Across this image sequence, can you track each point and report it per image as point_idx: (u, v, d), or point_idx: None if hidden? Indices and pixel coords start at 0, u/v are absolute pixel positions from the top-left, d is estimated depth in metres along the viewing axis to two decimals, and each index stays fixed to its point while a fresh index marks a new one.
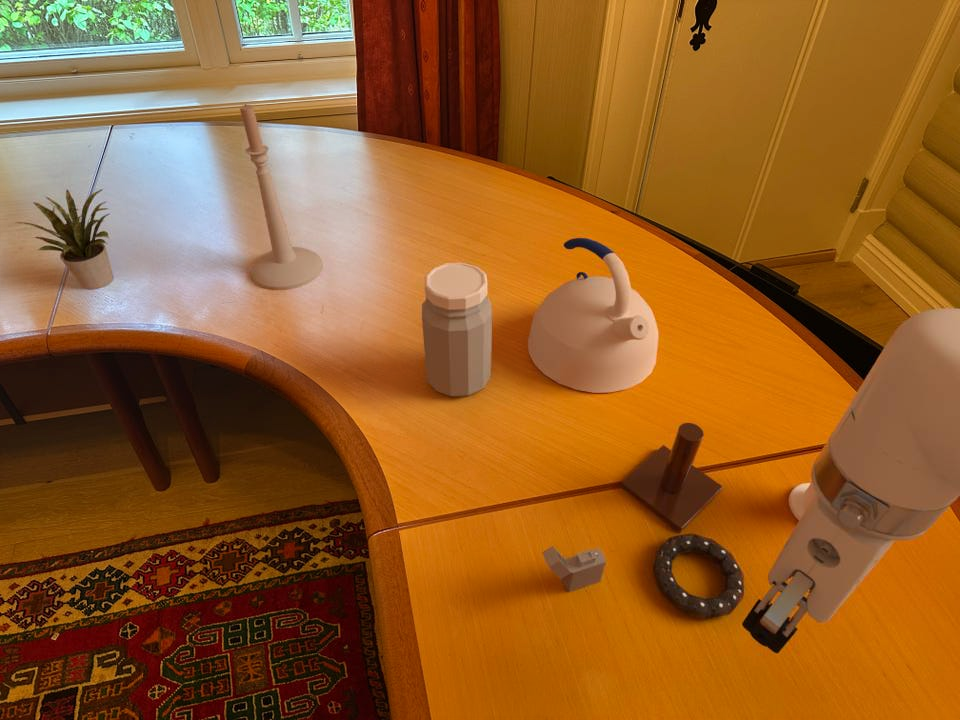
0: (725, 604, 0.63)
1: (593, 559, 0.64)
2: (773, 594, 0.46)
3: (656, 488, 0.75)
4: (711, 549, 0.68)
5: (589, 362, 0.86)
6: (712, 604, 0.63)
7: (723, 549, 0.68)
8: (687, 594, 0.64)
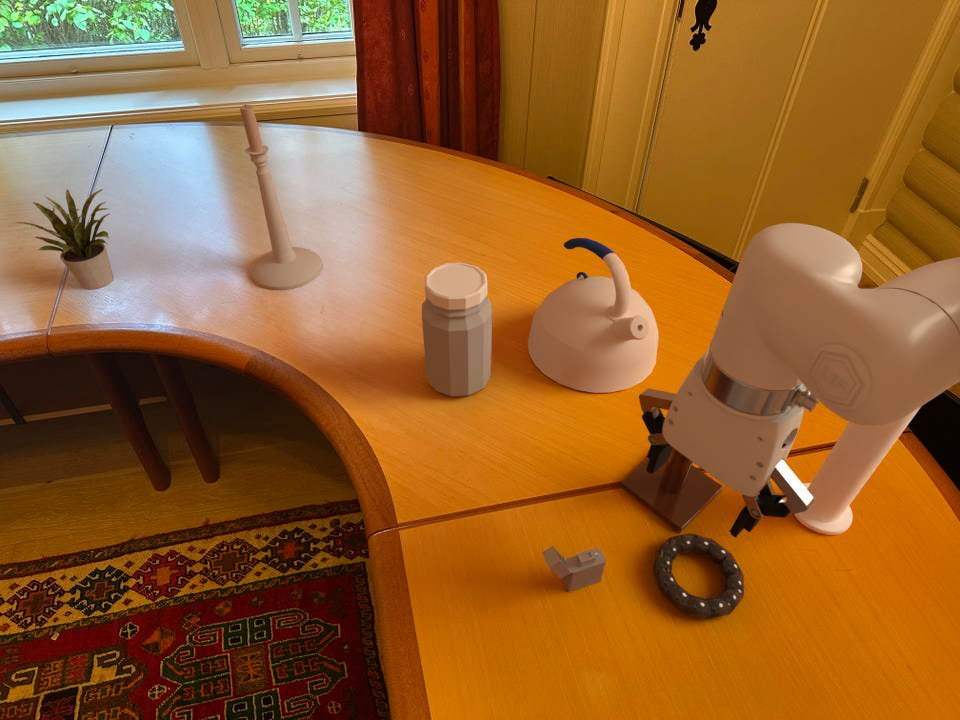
0: (725, 604, 0.63)
1: (593, 559, 0.64)
2: (757, 497, 0.53)
3: (656, 488, 0.75)
4: (711, 549, 0.68)
5: (589, 362, 0.86)
6: (712, 604, 0.63)
7: (723, 549, 0.68)
8: (687, 594, 0.64)
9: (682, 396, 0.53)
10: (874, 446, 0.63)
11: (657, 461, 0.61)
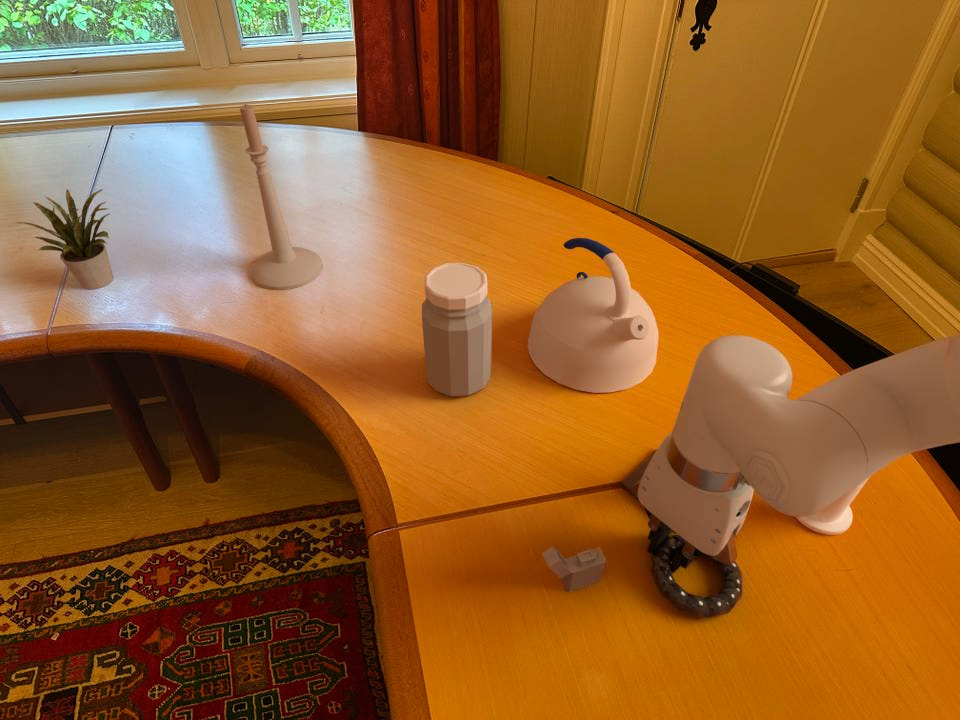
0: (723, 603, 0.63)
1: (593, 559, 0.64)
2: (696, 547, 0.63)
3: None
4: None
5: (589, 362, 0.86)
6: (710, 603, 0.63)
7: None
8: (685, 593, 0.64)
9: (652, 468, 0.61)
10: None
11: (656, 544, 0.68)
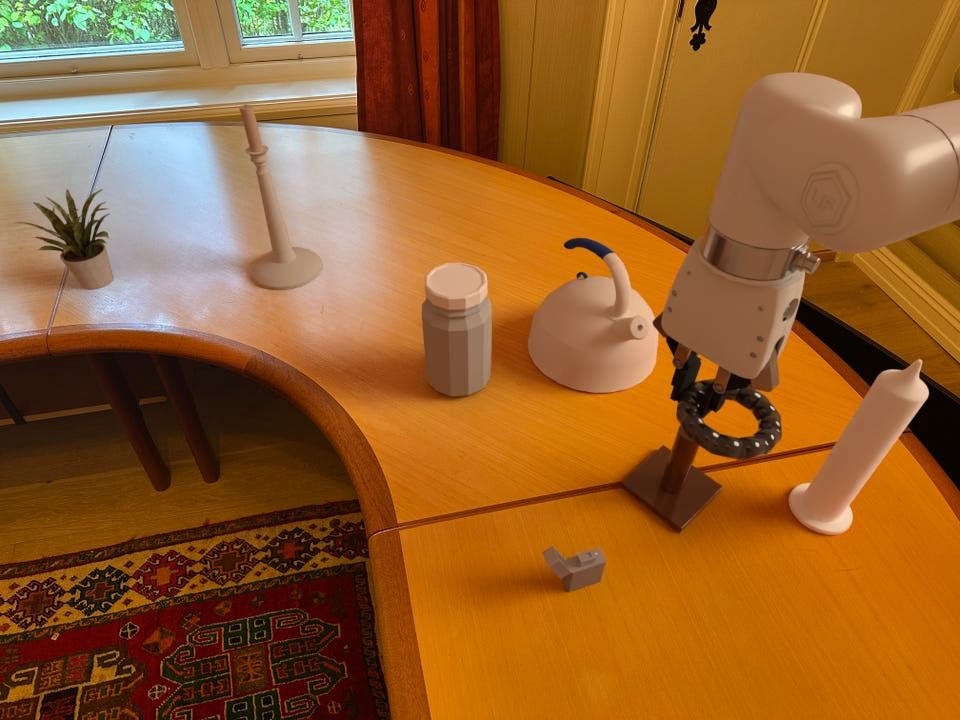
0: (762, 442, 0.55)
1: (593, 559, 0.64)
2: (731, 377, 0.55)
3: (656, 488, 0.75)
4: (742, 392, 0.60)
5: (589, 362, 0.86)
6: (747, 441, 0.55)
7: (756, 391, 0.60)
8: (717, 433, 0.56)
9: (681, 277, 0.52)
10: (874, 446, 0.63)
11: (682, 386, 0.59)
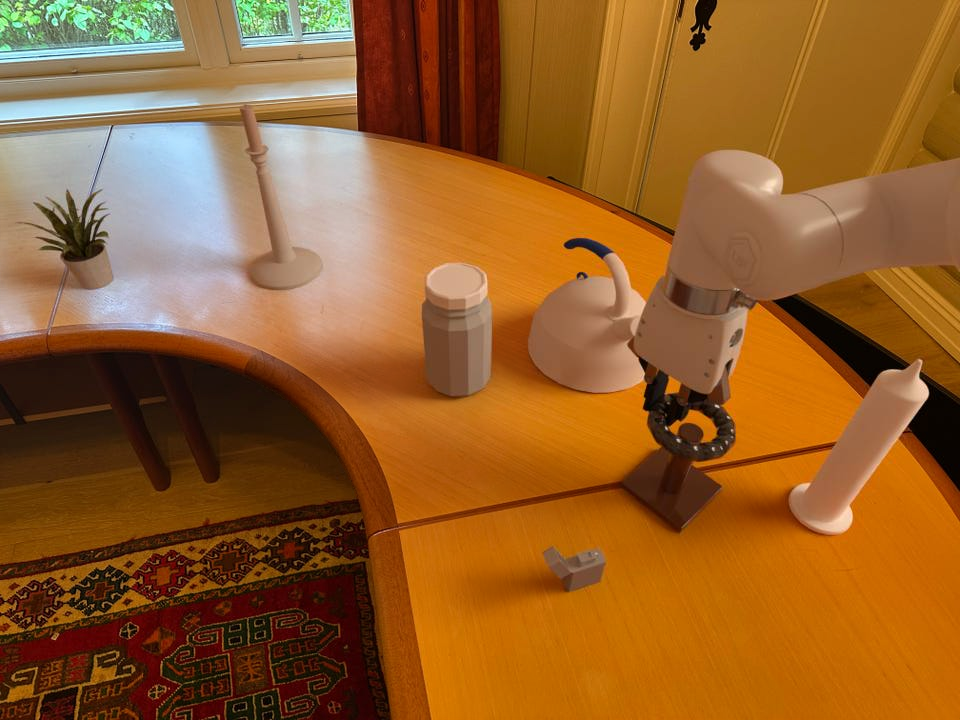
0: (717, 446, 0.65)
1: (593, 559, 0.64)
2: (691, 392, 0.65)
3: (656, 488, 0.75)
4: (704, 403, 0.70)
5: (589, 362, 0.86)
6: (705, 446, 0.65)
7: None
8: (680, 439, 0.66)
9: (648, 309, 0.62)
10: (874, 446, 0.63)
11: (652, 399, 0.69)
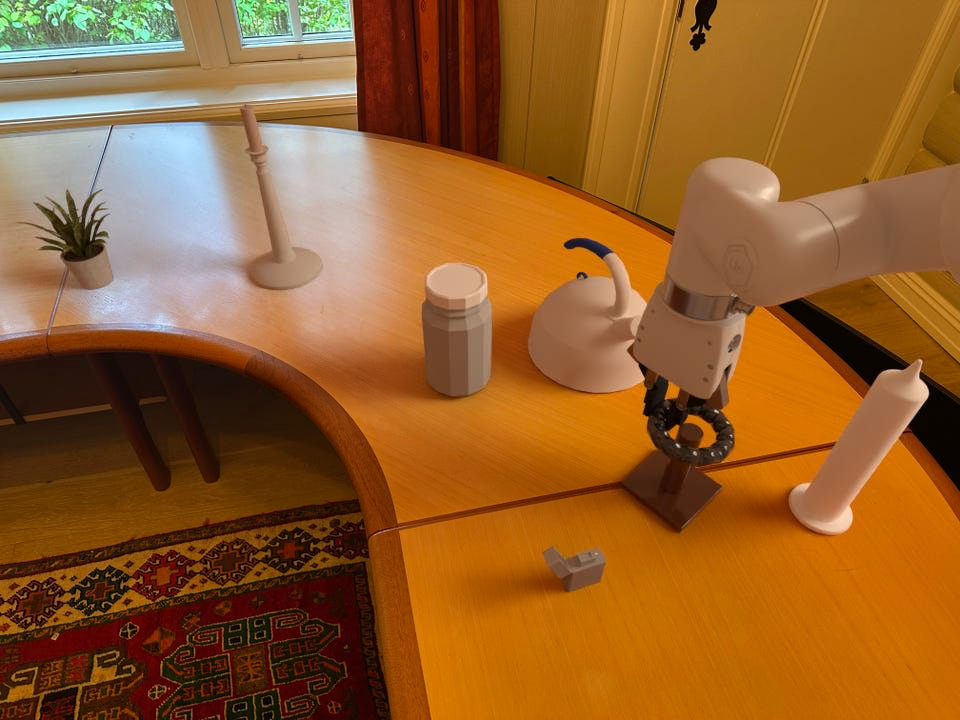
0: (716, 452, 0.65)
1: (593, 559, 0.64)
2: (690, 397, 0.65)
3: (656, 488, 0.75)
4: (703, 408, 0.70)
5: (589, 362, 0.86)
6: (704, 451, 0.65)
7: None
8: (680, 444, 0.66)
9: (647, 314, 0.63)
10: (874, 446, 0.63)
11: (652, 404, 0.70)
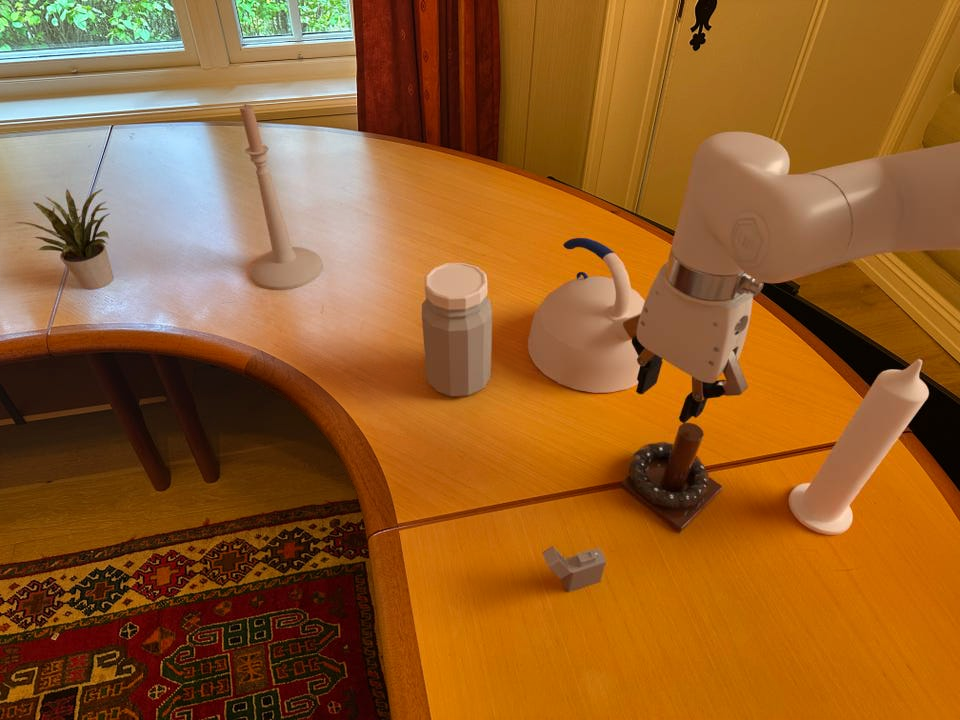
0: (691, 495, 0.72)
1: (593, 559, 0.64)
2: (704, 384, 0.63)
3: None
4: None
5: (589, 362, 0.86)
6: (680, 495, 0.72)
7: None
8: (658, 488, 0.73)
9: (651, 297, 0.61)
10: (874, 446, 0.63)
11: (645, 381, 0.69)
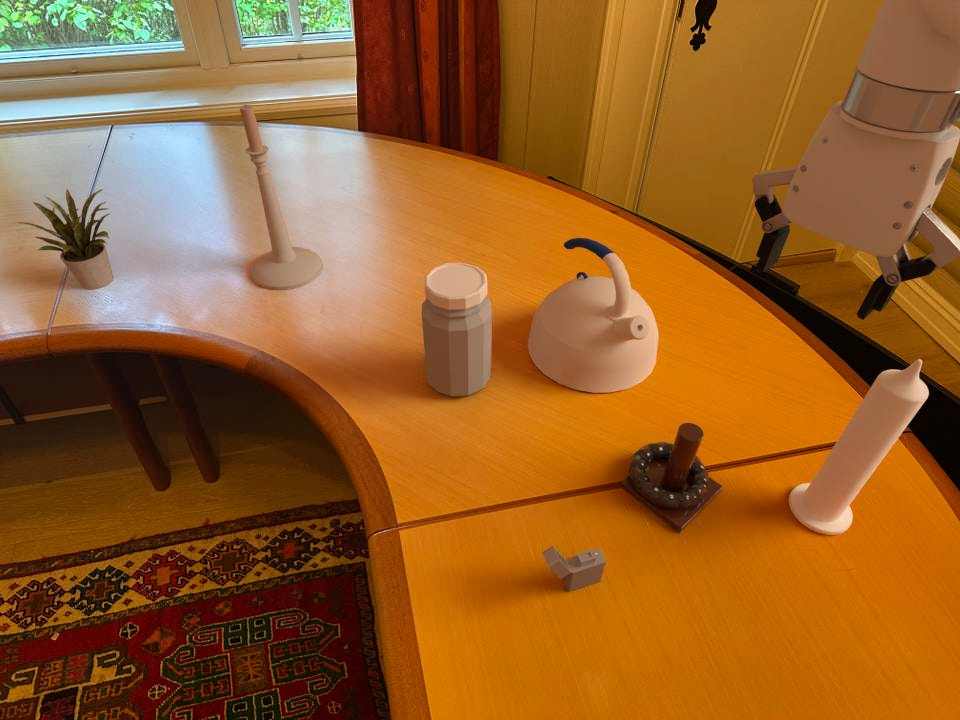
0: (691, 495, 0.72)
1: (593, 559, 0.64)
2: (896, 258, 0.49)
3: None
4: None
5: (589, 362, 0.86)
6: (680, 495, 0.72)
7: None
8: (658, 488, 0.73)
9: (815, 148, 0.49)
10: (874, 446, 0.63)
11: (770, 253, 0.57)
